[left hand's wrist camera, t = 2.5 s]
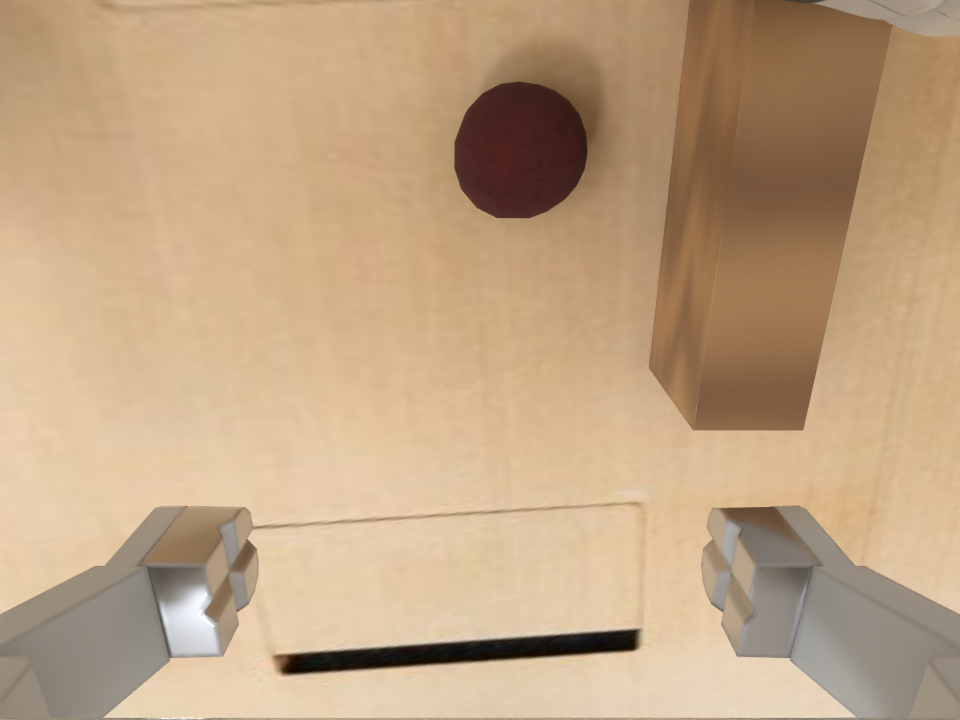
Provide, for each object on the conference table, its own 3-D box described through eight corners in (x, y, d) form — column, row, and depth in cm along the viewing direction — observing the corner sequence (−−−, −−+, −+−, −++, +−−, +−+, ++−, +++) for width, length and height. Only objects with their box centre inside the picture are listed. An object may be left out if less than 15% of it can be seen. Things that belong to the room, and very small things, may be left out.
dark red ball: (596, 169, 38) (621, 177, 31) (491, 233, 39) (493, 254, 33) (540, 58, 36) (554, 42, 29) (430, 130, 37) (420, 130, 30)
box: (736, 368, 43) (803, 430, 34) (648, 368, 43) (692, 430, 34) (813, -90, 33) (935, -171, 24) (699, -90, 33) (780, -171, 24)
